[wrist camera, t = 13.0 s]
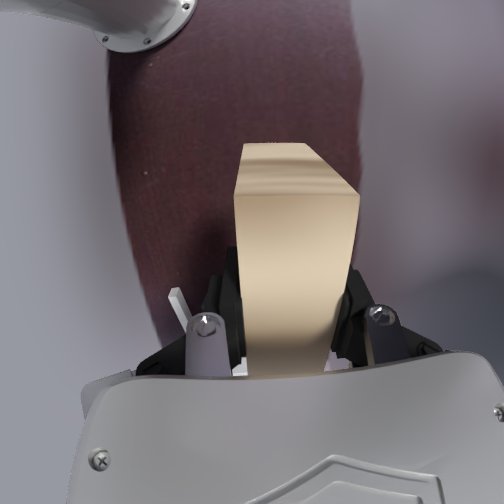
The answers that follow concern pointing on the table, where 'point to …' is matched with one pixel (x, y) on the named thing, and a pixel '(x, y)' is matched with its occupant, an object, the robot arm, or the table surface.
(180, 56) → the table surface
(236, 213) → the block
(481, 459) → the robot arm
